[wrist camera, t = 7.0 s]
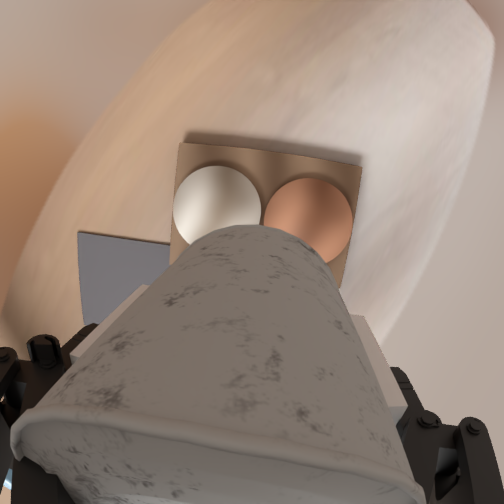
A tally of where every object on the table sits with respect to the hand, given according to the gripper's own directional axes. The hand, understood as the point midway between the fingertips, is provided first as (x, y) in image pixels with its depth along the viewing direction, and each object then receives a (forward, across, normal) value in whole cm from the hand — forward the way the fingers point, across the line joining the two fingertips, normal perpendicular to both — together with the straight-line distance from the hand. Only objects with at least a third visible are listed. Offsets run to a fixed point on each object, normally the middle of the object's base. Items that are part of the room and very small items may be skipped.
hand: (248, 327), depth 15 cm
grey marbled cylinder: (+2, 0, 0) cm, 2 cm away
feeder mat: (+20, -18, -10) cm, 29 cm away
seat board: (+21, 0, +2) cm, 21 cm away
